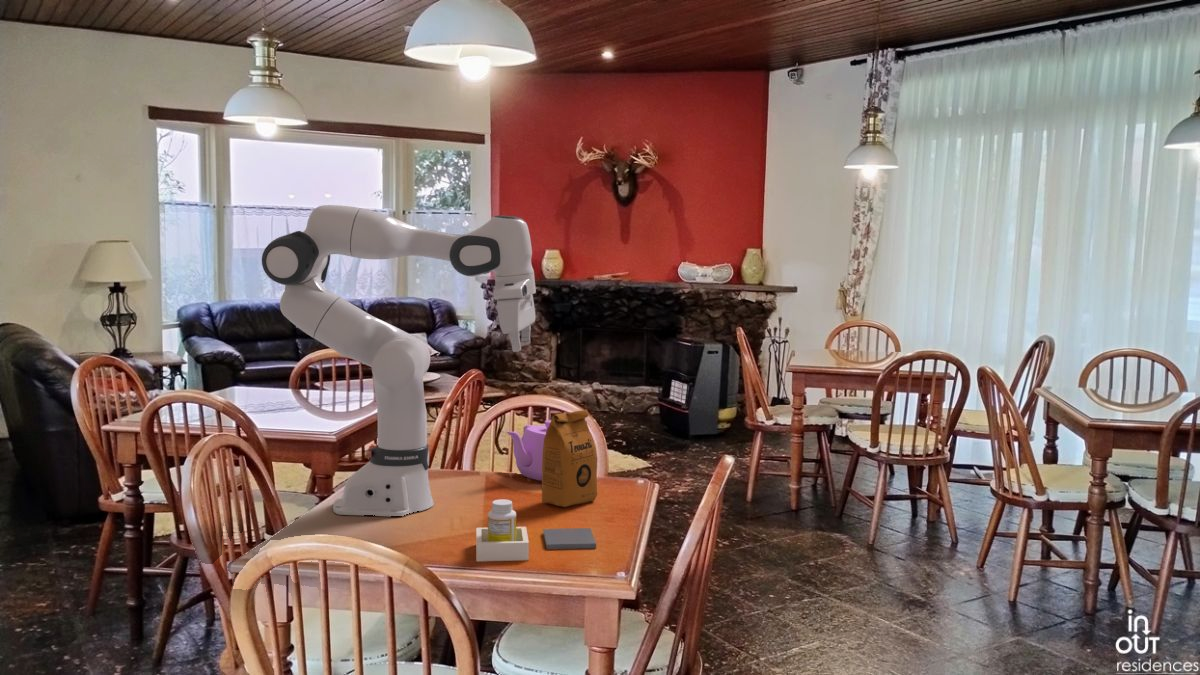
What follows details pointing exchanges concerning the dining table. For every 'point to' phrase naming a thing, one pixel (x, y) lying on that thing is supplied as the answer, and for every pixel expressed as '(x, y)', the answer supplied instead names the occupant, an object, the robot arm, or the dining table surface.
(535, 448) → the teapot
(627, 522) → the dining table surface
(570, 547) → the coaster
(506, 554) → the pocket
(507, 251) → the robot arm
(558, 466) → the coffee package
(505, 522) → the supplement bottle
